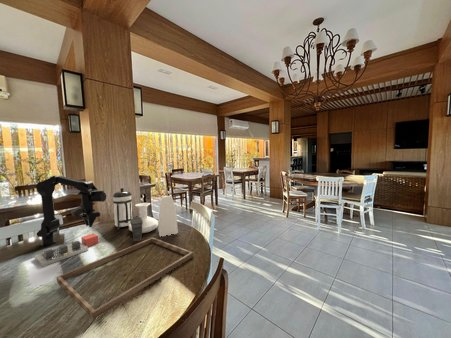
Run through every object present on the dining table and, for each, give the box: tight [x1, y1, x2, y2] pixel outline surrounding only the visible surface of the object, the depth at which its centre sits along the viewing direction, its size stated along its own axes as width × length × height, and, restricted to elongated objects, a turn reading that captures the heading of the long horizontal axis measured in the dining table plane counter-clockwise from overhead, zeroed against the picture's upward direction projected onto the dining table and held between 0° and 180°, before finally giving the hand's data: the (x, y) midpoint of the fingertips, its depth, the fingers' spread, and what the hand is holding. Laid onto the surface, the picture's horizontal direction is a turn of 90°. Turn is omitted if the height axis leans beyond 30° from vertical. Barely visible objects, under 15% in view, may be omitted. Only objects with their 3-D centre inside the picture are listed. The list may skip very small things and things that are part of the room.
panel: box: [34, 242, 89, 268], centre depth 108 cm, size 13×20×2 cm, turn 146°
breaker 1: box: [43, 248, 54, 258], centre depth 102 cm, size 3×3×3 cm
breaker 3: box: [71, 240, 81, 249], centre depth 112 cm, size 3×3×3 cm
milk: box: [157, 195, 179, 238], centre depth 138 cm, size 12×12×26 cm
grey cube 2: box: [58, 244, 68, 254], centre depth 107 cm, size 3×3×3 cm
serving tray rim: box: [56, 236, 194, 320], centre depth 94 cm, size 35×48×2 cm
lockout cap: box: [80, 233, 99, 248], centre depth 121 cm, size 7×7×5 cm
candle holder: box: [128, 202, 159, 234], centre depth 142 cm, size 20×20×19 cm
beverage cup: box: [131, 209, 143, 242], centre depth 126 cm, size 7×7×20 cm
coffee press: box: [112, 187, 133, 231], centre depth 149 cm, size 17×16×30 cm
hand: (89, 226), depth 121 cm, fingers open, 4 cm apart
